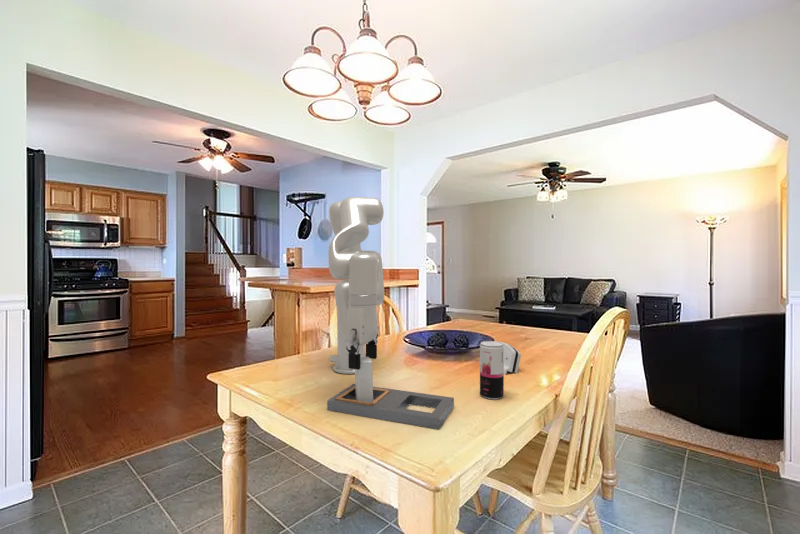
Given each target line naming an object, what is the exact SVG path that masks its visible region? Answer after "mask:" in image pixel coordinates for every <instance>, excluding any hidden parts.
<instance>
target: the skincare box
mask: <svg viewBox="0 0 800 534" xmlns="http://www.w3.org/2000/svg"><path fill="white" fill-rule="evenodd" d="M354 379H355V380H354V381H355V383H354V384H355V386H356V397H355V400H358V401H364V402H370V403H372V402H373V401H374V399H373V387H374V385H373V384H374V381H373V361H372V359H371V358H369V357H366V356H365V357H360V369H359V370H357V369H355V374H354Z"/></svg>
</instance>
